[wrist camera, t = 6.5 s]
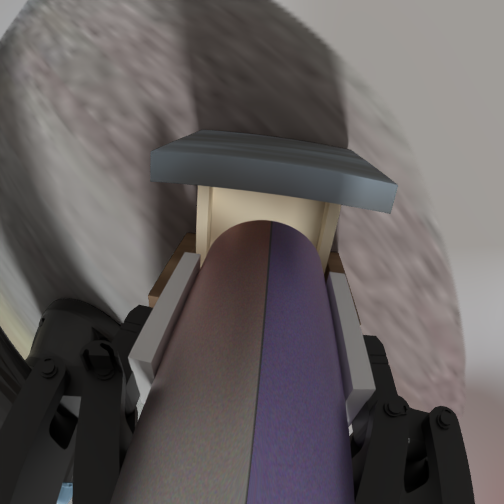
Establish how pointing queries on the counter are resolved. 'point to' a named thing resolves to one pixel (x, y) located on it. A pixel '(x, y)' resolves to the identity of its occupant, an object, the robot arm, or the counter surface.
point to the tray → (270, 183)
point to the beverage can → (247, 385)
